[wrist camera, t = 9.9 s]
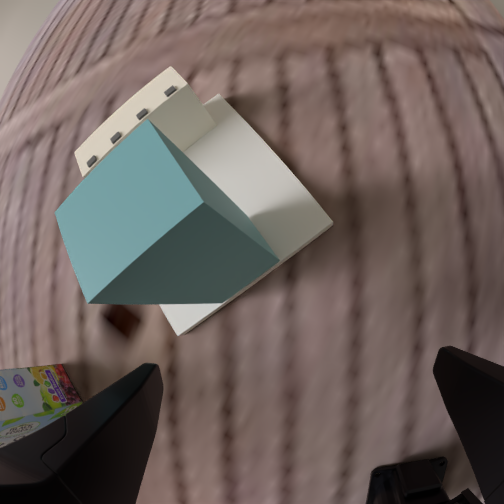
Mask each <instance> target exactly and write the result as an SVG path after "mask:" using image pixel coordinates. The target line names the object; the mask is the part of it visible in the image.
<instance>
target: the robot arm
mask: <svg viewBox="0 0 504 504" xmlns="http://www.w3.org/2000/svg"><path fill="white" fill-rule="evenodd" d="M433 374H434V377H435V379H436V382H437V385H438V387H439V390H440V393H441V396H442V398H443V401H444V404H445V407H446V409H447V411H448V413H449V416H450V418H451V420H452V422H453V424H454V426H455V429H456V431H457V433H458V435H459V438H460V440H461V442H462V444H463V447H464V449H465V451H466V454H467V456H468V459H469V461H470V464H471V466H472V469H473V471H474V474H475V476H476V479H477V482H478V484H479V487H480V490H481V493H482V496H483V498H484V500H485V501H484V502H485V504H504V366H501V365H499V364H496V363H493V362H491V361H488V360H486V359H483V358H481V357H478V356H476V355H473V354H470V353H468V352H465V351H463V350H460V349H458V348H455V347H453V346H446V347H442V348H440V349H439V351H438V354H437V357H436V360H435V363H434V367H433ZM162 396H163V382H162V377H161V373H160V368H159V366H158V365H157V364H154V363H144V364H142V365H141V366H139V367H138V368H136V369H135V370H133V371H132V372H130V373H129V374H127V375H126V376H124V377H123V378H121V379H120V380H118V381H117V382H115V383H113V384H112V385H110V386H109V387H107V388H106V389H104V390H103V391H101V392H100V393H98V394H96V395H95V396H93V397H92V398H90V399H89V400H87V401H86V402H84V403H82V404H81V405H79V406H78V407H76V408H75V409H73V410H71V411H70V412H68V413H67V414H66V415H63V416H62V417H60V418H58V419H57V420H55V421H53V422H52V423H50V424H48V425H47V426H45V427H43V428H41V429H39V430H37V431H35V432H33V433H31V434H29V435H27V436H25V437H23V438H21V439H19V440H17V441H14V442H12V443H10V444H8V445H6V446H3V447H1V448H0V504H136V500H137V497H138V493H139V489H140V486H141V482H142V479H143V475H144V472H145V468H146V465H147V461H148V458H149V455H150V451H151V448H152V445H153V441H154V438H155V434H156V430H157V425H158V419H159V413H160V407H161V401H162ZM442 461H443V463H442V464H440V463H441V462H442ZM446 466H447V459H446V458H445V457H439V458H435V459H430V460H427V459H426V460H421V461H416V462H410V463H404V464H399V465H396V466H389V467H382V468H376V469H374V470H373V471H372V472H371V476H370V482H369V489H368V494H367V500H366V504H483V503H482V502H481V501H480V500H479V499H478V498H477V497H476V496H475V495H474V494H473V493H472V492H471V491H470V490H469V489H468V488H467V489H466V490H464V491H462V492H461V494H460V495H458V496H457V497H455V498H453V499H452V500H450V499H449V497H448V495H447V494H446V492H445V490H444V488H443V486H442V482H443V478H444V474H445V470H446ZM376 473H380V474H378V475H375V474H376Z"/></svg>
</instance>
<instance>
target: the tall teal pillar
mask: <svg viewBox="0 0 504 504" xmlns="http://www.w3.org/2000/svg"><path fill="white" fill-rule="evenodd" d="M55 215H56V218H57V222H58V225H59V228H60V231H61V234H62V237H63V240H64V243H65V246H66V249H67V252H68V255H69V258H70V260H71V263H72V266H73V269H74V271H75V274H76V276H77V279H78V281H79V284H80V286H81V289H82V291H83V294H84V296H85V298H86V301H87V303H90V304H215V303H223V302H225V301H226V300H227V299H229V298H230V297H232V296H233V295H234V294H236V293H237V292H238V291H240V290H241V289H243V288H244V287H245V286H247V285H248V284H249V283H251V282H252V281H253V280H255V279H256V278H257V277H259V276H260V275H262V274H263V273H264V272H266V271H267V270H268V269H270V268H271V267H272V266H274V265H275V264H276V263H278V262H279V261H280V260H279V258H278V257H277V256H276V254H275V253H274V252H273V250H272V249H271V248H270V246H269V245H268V243H267V242H266V241H265V239H264V238H263V237H262V235H261V234H260V232H259V231H258V230H257V228H256V227H255V226H254V224H253V223H252V222H251V220H250V219H249V217H248V216H247V215H246V214H245V213H244V212H243V211H242V210H241V209H240V208H239V207H238V206H237V205H236V204H235V203H234V202H233V201H232V200H231V199H230V198H229V197H228V196H227V195H226V194H225V193H224V192H223V191H222V190H221V189H220V188H219V187H218V186H217V185H216V184H215V183H214V182H213V181H212V180H211V179H210V178H209V177H208V176H207V175H206V174H205V173H203V172H202V171H201V170H200V169H199V168H198V167H197V166H196V165H195V164H194V163H193V162H192V161H191V160H190V159H189V158H188V157H187V156H186V155H185V154H184V153H183V152H182V151H181V150H180V149H179V148H178V147H177V146H176V145H175V144H174V143H173V142H172V141H170V140H169V139H168V138H167V137H166V136H165V135H164V134H163V133H162V132H161V131H160V130H159V129H158V128H157V127H156V126H155V125H154V124H153V123H152V122H151V121H150V120H148V119H147V120H146V121H144V122H143V123H142V124H141V125H140V126H139V127H138V128H136V129H135V130H134V131H133V132H132V133H131V134H130V135H129V136H128V137H126V138H125V139H124V140H123V141H122V142H121V143H120V144H119V145H118V146H117V147H116V148H115V149H114V150H113V151H111V152H110V153H109V154H108V155H107V156H106V157H105V158H104V159H103V160H102V161H101V162H100V163H99V164H98V165H97V166H96V167H95V168H94V169H93V170H92V171H91V172H90V174H89V175H88V176H87V177H86V178H85V179H84V180H83V181H82V182H81V183H80V184H79V185H78V186H77V187H76V189H75V190H74V191H73V192H72V193H71V194H70V195H69V196H68V198H67V199H66V200H65V201H64V202H63V203H62V204H61V206H60V207H59V208H58V209H57V210H56V212H55Z"/></svg>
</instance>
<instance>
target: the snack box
mask: <svg viewBox="0 0 504 504" xmlns="http://www.w3.org/2000/svg"><path fill="white" fill-rule="evenodd" d="M81 403H82V401H81V400H80V398H79V396H78V395H77V393H76V391H75V389H74V387H73V386H72V384H71V382H70V380H69V378H68V376H67V374H66V372H65V370H64V368H63V366H62V365H61V364H55V365H47V366H37V367H28V368H16V369H4V370H0V448H1V447H3V446H6V445H8V444H10V443H12V442H14V441H17V440H19V439H21V438H23V437H25V436H27V435H29V434H31V433H33V432H35V431H37V430H39V429H41V428H43V427H45V426H47V425H48V424H50V423H52V422H53V421H55V420H57V419H58V418H60V417H62V416H63V415H66V414H67V413H68V412H70V411H71V410H73V409H75V408H76V407H78V406H79V405H80V404H81Z"/></svg>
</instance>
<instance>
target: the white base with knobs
mask: <svg viewBox="0 0 504 504" xmlns="http://www.w3.org/2000/svg"><path fill="white" fill-rule="evenodd" d="M147 119H148V120H150V121H151V122H152V123H153V124H154V125H155V126H156V127H157V128H158V129H159V130H160V131H161V132H162V133H163V134H164V135H165V136H166V137H167V138H168V139H169V140H170V141H172V142H173V143H174V144H175V145H176V146H177V147H178V148H179V149H180V150H181V151H182V152H183V153H184V154H185V155H186V156H187V157H188V158H189V159H190V160H191V161H192V162H193V163H194V164H195V165H196V166H197V167H198V168H199V169H200V170H201V171H202V172H203V173H205V174H206V175H207V176H208V177H209V178H210V179H211V180H212V181H213V182H214V183H215V184H216V185H217V186H218V187H219V188H220V189H221V190H222V191H223V192H224V193H225V194H226V195H227V196H228V197H229V198H230V199H231V200H232V201H233V202H234V203H235V204H236V205H237V206H238V207H239V208H240V209H241V210H242V211H243V212H244V213H245V214H246V215H247V216H248V217H249V219H250V220H251V222H252V223H253V224H254V226H255V227H256V228H257V230H258V231H259V232H260V234H261V235H262V237H263V238H264V239H265V241H266V242H267V243H268V245H269V246H270V248H271V249H272V250H273V252H274V253H275V254H276V256H277V257H278V258H279V260H280V261H279V262H278V263H276V264H275V265H274V266H272V267H271V268H270V269H268V270H267V271H266V272H264V273H263V274H262V275H260V276H259V277H257V278H256V279H255V280H253V281H252V282H251V283H249V284H248V285H247V286H245V287H244V288H243V289H241V290H240V291H238V292H237V293H236V294H234V295H233V296H232V297H230V298H229V299H227V300H226V301H225V302H223V303H215V304H159V305H160V307H161V309H162V310H163V312H164V314H165V315H166V317H167V319H168V321H169V322H170V324H171V326H172V327H173V329H174V331H175V332H176V334H177V336H181V335H184V334H186V333H187V332H189V331H190V330H191V329H193V328H194V327H196V326H197V325H198V324H200V323H201V322H203V321H204V320H205V319H207V318H208V317H210V316H211V315H212V314H214V313H215V312H217V311H218V310H219V309H221V308H222V307H224V306H225V305H226V304H228V303H229V302H231V301H232V300H233V299H235V298H236V297H237V296H239V295H240V294H242V293H243V292H244V291H246V290H247V289H248V288H250V287H251V286H253V285H254V284H255V283H257V282H258V281H259V280H261V279H262V278H263V277H265V276H266V275H268V274H269V273H270V272H272V271H273V270H274V269H276V268H277V267H278V266H280V265H281V264H282V263H284V262H285V261H286V260H288V259H289V258H290V257H292V256H293V255H294V254H296V253H297V252H298V251H300V250H301V249H302V248H304V247H305V246H306V245H308V244H309V243H310V242H312V241H313V240H314V239H316V238H317V237H318V236H320V235H321V234H322V233H324V232H325V231H326V230H328V229H329V228H330V227H331V226H333V221H332V220H331V219H330V217H329V216H328V215H327V214H326V212H325V211H324V210H323V209H322V208H321V206H320V205H319V204H318V203H317V201H316V200H315V199H314V198H313V197H312V195H311V194H310V193H309V192H308V191H307V189H306V188H305V187H304V186H303V185H302V184H301V182H300V181H299V180H298V179H297V178H296V176H295V175H294V174H293V173H292V172H291V171H290V170H289V168H288V167H287V166H286V165H285V164H284V163H283V162H282V160H281V159H280V158H279V157H278V156H277V155H276V154H275V153H274V151H273V150H272V149H271V148H270V147H269V146H268V145H267V144H266V143H265V142H264V140H263V139H262V138H261V137H260V136H259V135H258V134H257V133H256V132H255V131H254V130H253V129H252V128H251V126H250V125H249V124H248V123H247V122H246V121H245V120H244V119H243V118H242V117H241V116H240V115H239V114H238V113H237V112H236V111H235V110H234V109H233V108H232V107H231V106H230V105H229V104H228V103H227V102H226V101H225V100H224V99H223V98H222V97H221V96H220V95H219V94H217V95H216V96H214V97H213V98H212V99H210V100H209V101H208V102H206V103H205V104H202V103H201V102H200V100H199V99H198V97H197V96H196V94H195V93H194V92H193V90H192V89H191V87H190V86H189V85H188V83H187V82H186V81H185V80H184V79H183V78H182V77H181V76H180V75H179V74H178V73H177V72H176V71H175V70H174V69H173V68H172V67H171V66H170V67H169V68H167V69H166V70H165V71H163V72H162V73H161V74H159V75H158V76H157V77H156V78H154V79H153V80H152V81H151V82H149V83H148V84H147V85H146V86H144V87H143V88H142V89H141V90H140V91H138V92H137V93H136V94H135V95H134V96H132V97H131V98H130V99H129V100H128V101H127V102H126V103H124V104H123V105H122V106H121V107H120V108H119V109H118V110H117V111H116V112H114V113H113V114H112V115H111V116H110V117H109V118H108V119H107V120H106V121H105V122H104V123H103V124H102V125H101V126H100V127H99V128H98V129H97V130H96V131H95V132H94V133H93V134H92V135H91V136H90V137H89V138H88V139H87V140H86V141H85V142H84V143H83V144H82V145H81V146H80V147H79V148H78V149H77V150H76V151H75V152H74V153H75V156H76V159H77V162H78V165H79V168H80V170H81V173H82V176H83V177H84V178H86V177H87V176H88V175H89V174H90V172H91V171H92V170H93V169H94V168H95V167H96V166H97V165H98V164H99V163H100V162H101V161H102V160H103V159H104V158H105V157H106V156H107V155H108V154H109V153H110V152H111V151H113V150H114V149H115V148H116V147H117V146H118V145H119V144H120V143H121V142H122V141H123V140H124V139H125V138H126V137H128V136H129V135H130V134H131V133H132V132H133V131H134V130H135V129H136V128H138V127H139V126H140V125H141V124H142V123H143V122H144V121H146V120H147Z"/></svg>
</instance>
